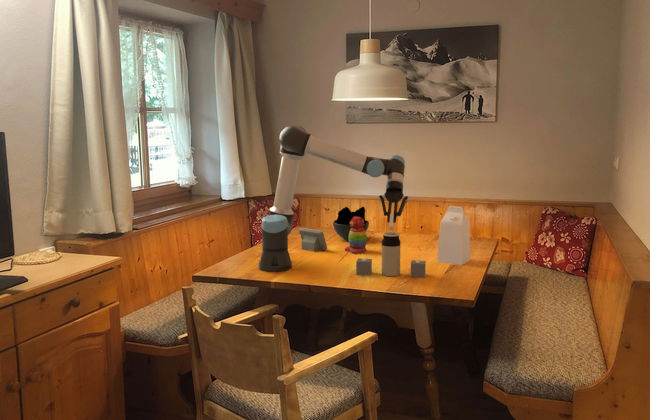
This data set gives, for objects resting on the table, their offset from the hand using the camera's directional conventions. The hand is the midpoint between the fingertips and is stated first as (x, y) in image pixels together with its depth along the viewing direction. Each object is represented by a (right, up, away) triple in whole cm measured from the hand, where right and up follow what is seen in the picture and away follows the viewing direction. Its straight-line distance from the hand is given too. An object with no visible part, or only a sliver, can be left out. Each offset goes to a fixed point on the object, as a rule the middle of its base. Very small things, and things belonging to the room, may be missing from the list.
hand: (390, 228), depth 251 cm
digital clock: (-34, -13, +54) cm, 65 cm away
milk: (+33, -16, +27) cm, 45 cm away
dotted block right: (+12, -20, +2) cm, 24 cm away
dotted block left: (-11, -20, +6) cm, 24 cm away
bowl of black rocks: (-14, -9, +76) cm, 78 cm away
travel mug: (0, -20, +4) cm, 21 cm away
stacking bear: (-12, -13, +48) cm, 52 cm away
